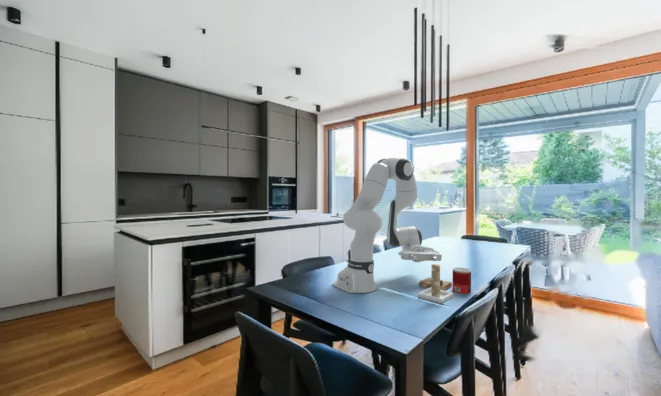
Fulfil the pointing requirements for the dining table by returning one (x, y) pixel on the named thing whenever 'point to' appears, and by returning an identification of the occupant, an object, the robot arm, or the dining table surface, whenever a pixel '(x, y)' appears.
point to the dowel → (435, 280)
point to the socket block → (443, 284)
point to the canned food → (462, 280)
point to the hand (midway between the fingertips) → (425, 259)
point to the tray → (427, 294)
